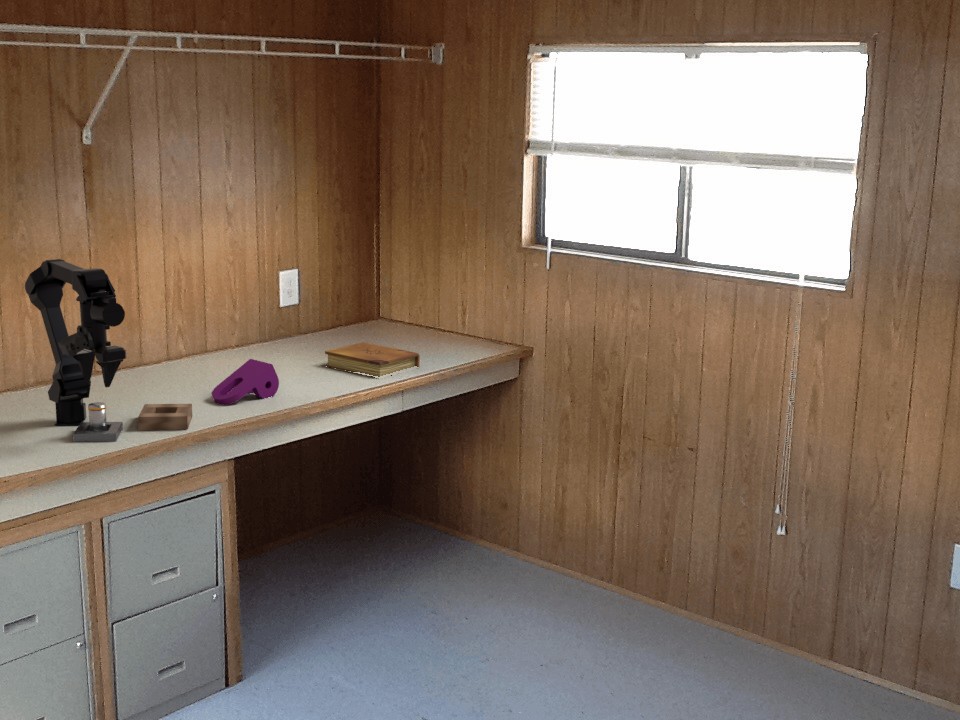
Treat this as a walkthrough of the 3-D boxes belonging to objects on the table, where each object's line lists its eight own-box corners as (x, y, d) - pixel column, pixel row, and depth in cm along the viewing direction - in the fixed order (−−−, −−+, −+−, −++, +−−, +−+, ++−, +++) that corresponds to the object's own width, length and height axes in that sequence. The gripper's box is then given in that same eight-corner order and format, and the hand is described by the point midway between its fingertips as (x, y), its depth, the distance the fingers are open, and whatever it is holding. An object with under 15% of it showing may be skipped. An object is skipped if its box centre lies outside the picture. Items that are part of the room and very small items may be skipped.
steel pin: (88, 438, 278) (86, 406, 276) (91, 433, 282) (89, 402, 280) (105, 437, 279) (104, 406, 277) (108, 433, 283) (107, 402, 281)
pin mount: (73, 441, 275) (73, 434, 274) (81, 429, 284) (81, 422, 284) (116, 441, 276) (115, 433, 276) (122, 429, 286) (122, 421, 285)
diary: (419, 370, 358) (419, 352, 357) (380, 381, 343) (380, 362, 342) (364, 358, 371) (365, 341, 370) (324, 368, 356) (324, 350, 355)
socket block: (138, 430, 285) (138, 416, 285) (145, 417, 297) (144, 404, 296) (187, 429, 287) (187, 416, 286) (192, 416, 299) (191, 403, 298)
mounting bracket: (238, 426, 312) (282, 388, 323) (226, 402, 307) (272, 364, 318) (216, 419, 318) (260, 382, 328) (204, 395, 313) (250, 358, 324)
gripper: (42, 320, 274) (47, 383, 278) (82, 330, 262) (86, 396, 265) (85, 315, 282) (89, 376, 286) (125, 324, 270) (129, 388, 274)
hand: (97, 384), depth 277 cm, fingers open, 9 cm apart
